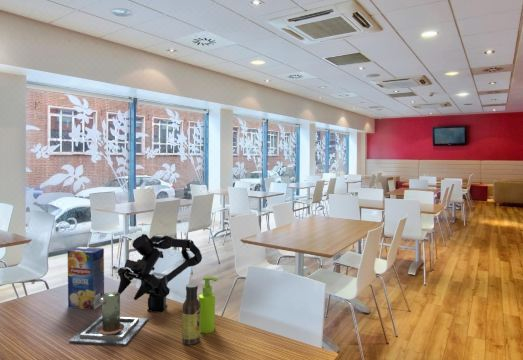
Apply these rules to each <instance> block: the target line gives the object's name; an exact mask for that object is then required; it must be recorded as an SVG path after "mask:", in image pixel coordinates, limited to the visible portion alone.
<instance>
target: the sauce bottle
mask: <svg viewBox="0 0 523 360" xmlns="http://www.w3.org/2000/svg"><path fill="white" fill-rule="evenodd" d="M198 288H199V287H198V284H196V283H188V284H186V285H185V291H186V296H185V300H184V302H183V303H182V311H181V312H182V313H181V314H182V319H181V320H182V324H181V326H182V327H181V328H182V329H181V335H182V336H181V337H182V340H181V341H182V343H183V344H184V345H196V344H197V343H199V341H200V340H201V332H200V319H201V315H200V313H201V306H200V302H199V298H198Z"/></svg>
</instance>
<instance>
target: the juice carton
mask: <svg viewBox="0 0 523 360" xmlns="http://www.w3.org/2000/svg"><path fill="white" fill-rule="evenodd" d="M104 265H105V248H101V247H88V246H77V247H75V248H72V249H69V250H67V300H68V301H67V304H68V305H67V306H68V308H75V309H84V310H93V311H94V310H95V309H97V308H99V307H100V306H102V303H101V302H100V301H99V300H100V299H101V298H102V295H103V294H105V266H104Z"/></svg>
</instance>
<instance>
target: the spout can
mask: <svg viewBox="0 0 523 360" xmlns="http://www.w3.org/2000/svg"><path fill="white" fill-rule="evenodd" d="M99 301H100V302H101V303H102V305H101V306H102V307H101V311H102V315H101V316H102V330H103V331H105V332H112V331H116V330H118V329H119V328H120V317H121V294H120V293H119V292H118V291H108V292H104V294H103V295H102V298H101V299H100V300H99Z"/></svg>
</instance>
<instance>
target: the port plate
mask: <svg viewBox="0 0 523 360" xmlns="http://www.w3.org/2000/svg"><path fill="white" fill-rule="evenodd" d="M148 319H149V318H148V317H134V316H133V317H132V316H120V328H119V329H118V330H116V331H112V332H105V331H103V330H102V315H97V316H96V317H95V318H93V319H92V320H91V321H90V322H89V323H88V324H86V325H85V326H84V327H83V328H82V329H81V330H80V331H78V332H77V333H76V334H75V335H73V336H72V337H71V338H70V339H69V340H68V343H70V344H82V345H83V344H84V345H100V346H102V345H103V346H118V347H126V346H128V344H129V343H130V342H131V341H132V339H133V338H135V336H136V335H137V333H138V332H139V331H140V330H141V329H142V328H143V326H144V325H145V324H146V323H147V321H149V320H148Z"/></svg>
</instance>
